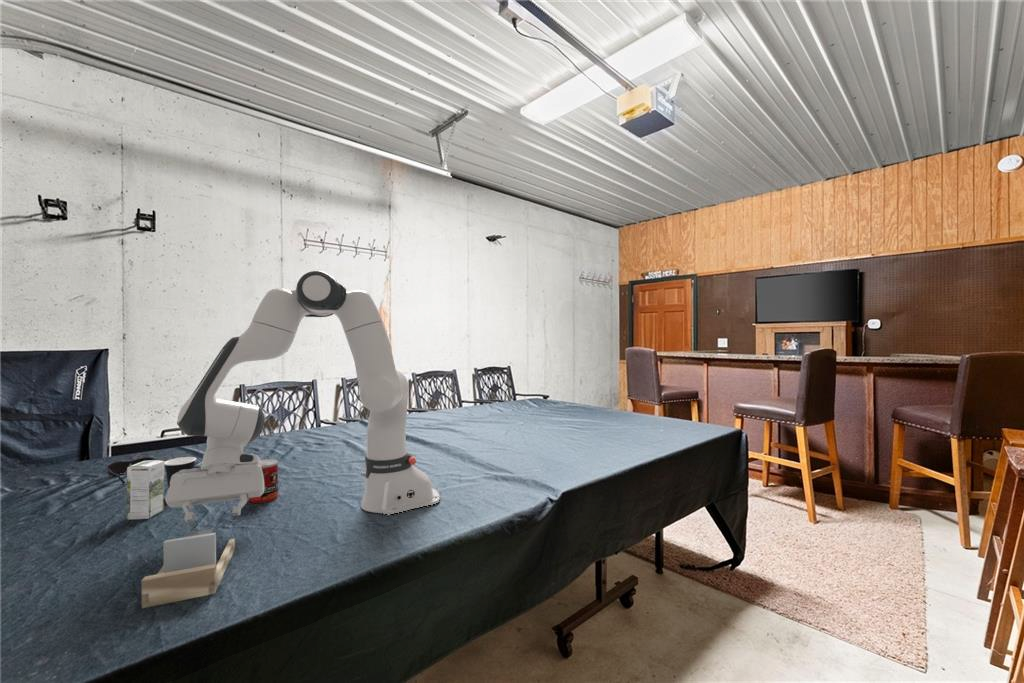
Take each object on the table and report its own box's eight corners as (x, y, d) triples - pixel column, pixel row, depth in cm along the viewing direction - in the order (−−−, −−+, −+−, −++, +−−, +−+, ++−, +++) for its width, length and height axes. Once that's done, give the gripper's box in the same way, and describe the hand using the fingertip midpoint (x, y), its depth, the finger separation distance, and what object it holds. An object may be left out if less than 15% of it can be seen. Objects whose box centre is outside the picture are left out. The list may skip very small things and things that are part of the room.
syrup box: (142, 511, 119) (142, 460, 119) (165, 510, 120) (164, 459, 120) (126, 520, 114) (125, 466, 114) (149, 519, 114) (149, 465, 114)
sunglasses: (153, 468, 160) (153, 455, 160) (166, 476, 151) (166, 462, 151) (104, 477, 149) (104, 463, 149) (115, 487, 140) (115, 472, 140)
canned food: (265, 504, 124) (264, 467, 124) (241, 502, 126) (241, 465, 126) (284, 495, 132) (283, 459, 132) (261, 493, 133) (261, 458, 133)
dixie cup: (176, 502, 126) (175, 465, 126) (157, 499, 129) (157, 462, 129) (202, 492, 134) (202, 458, 134) (184, 490, 136) (184, 455, 136)
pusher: (165, 580, 84) (165, 540, 84) (216, 571, 87) (215, 532, 87) (163, 583, 83) (163, 542, 83) (215, 573, 86) (214, 534, 86)
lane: (176, 559, 93) (176, 536, 93) (234, 549, 98) (234, 527, 98) (141, 608, 76) (141, 580, 76) (214, 593, 81) (214, 567, 81)
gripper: (169, 464, 104) (154, 519, 95) (265, 455, 112) (260, 505, 103) (175, 477, 108) (162, 531, 99) (267, 467, 116) (262, 516, 107)
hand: (213, 517), depth 101 cm, fingers open, 8 cm apart
